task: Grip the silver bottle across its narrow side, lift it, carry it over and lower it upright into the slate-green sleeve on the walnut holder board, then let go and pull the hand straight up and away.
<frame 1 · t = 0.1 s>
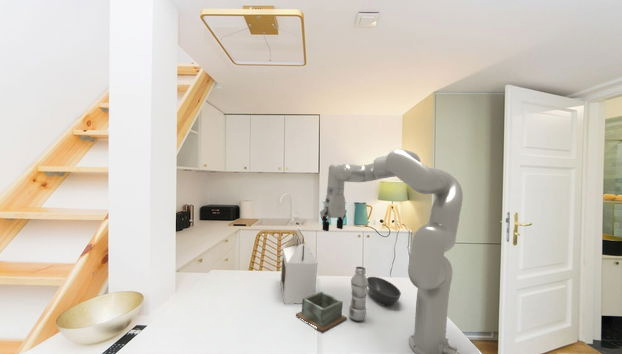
hand: (332, 229, 120), 31 cm above the worktop, tool pointing down, fingers open, 9 cm apart
bowl: (381, 299, 123), on the worktop
silver bottle: (357, 319, 104), on the worktop
bottle holder: (321, 318, 103), on the worktop
gable box: (296, 292, 124), on the worktop
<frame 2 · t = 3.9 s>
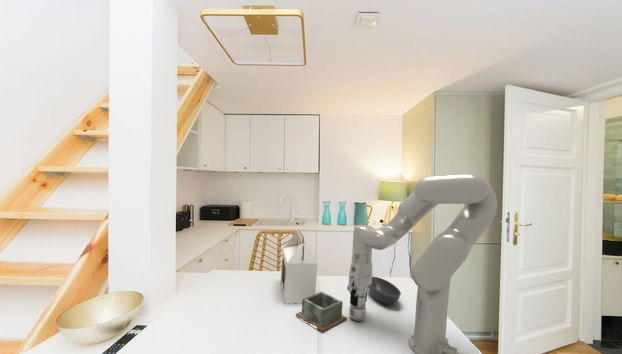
hand: (358, 302, 104), 6 cm above the worktop, tool pointing down, fingers closed on silver bottle, 5 cm apart
silver bottle: (357, 319, 104), on the worktop, touching gripper
everything else where it was.
when the fingers open (9 cm above the worktop, at t = 11.7 s): silver bottle drops 1 cm, resting on bottle holder.
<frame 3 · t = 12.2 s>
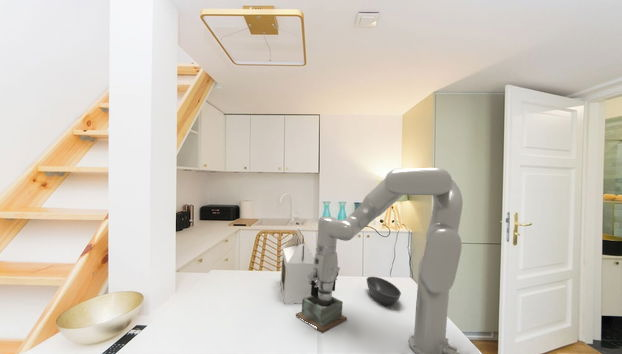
hand: (323, 293, 103), 10 cm above the worktop, tool pointing down, fingers open, 9 cm apart
silver bottle: (323, 315, 103), point 1 cm above the worktop, touching bottle holder
everything else where it was.
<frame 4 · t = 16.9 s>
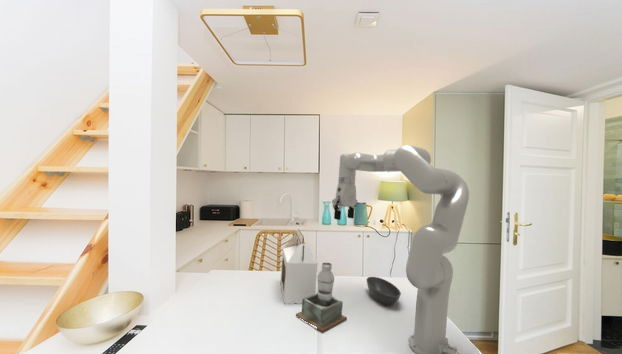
hand: (344, 218, 121), 36 cm above the worktop, tool pointing down, fingers open, 9 cm apart
nothing on the worktop moved.
at the end: silver bottle 0.9 cm off-centre on the bottle holder, point 0.8 cm above the bottle holder's base; silver bottle tilted 0°; the gripper is holding nothing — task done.
